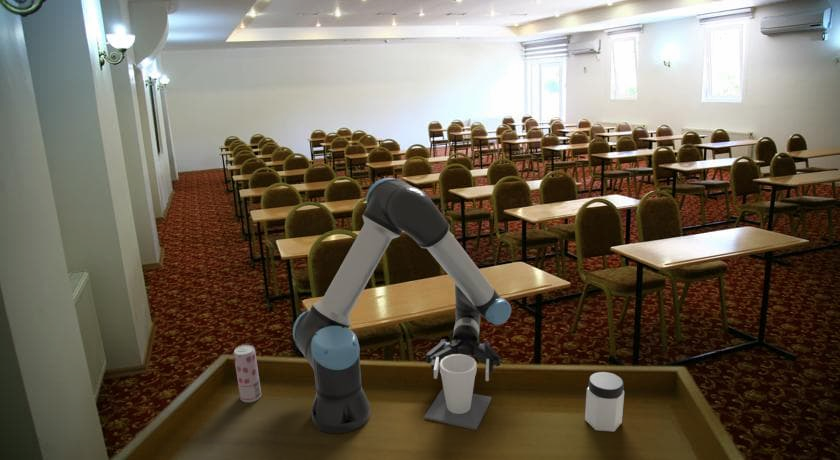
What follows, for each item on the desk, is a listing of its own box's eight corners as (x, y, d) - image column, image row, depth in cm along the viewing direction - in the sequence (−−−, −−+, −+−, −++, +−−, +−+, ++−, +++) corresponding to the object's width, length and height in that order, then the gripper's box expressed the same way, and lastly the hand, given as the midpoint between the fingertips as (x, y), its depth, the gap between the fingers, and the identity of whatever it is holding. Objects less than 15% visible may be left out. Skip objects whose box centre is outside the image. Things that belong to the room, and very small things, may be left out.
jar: (628, 427, 151) (632, 386, 147) (600, 436, 149) (603, 394, 145) (605, 407, 159) (609, 367, 155) (579, 415, 157) (581, 374, 153)
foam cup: (474, 419, 155) (474, 375, 151) (438, 416, 157) (437, 372, 153) (478, 397, 164) (477, 355, 160) (444, 394, 166) (443, 352, 162)
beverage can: (240, 393, 171) (233, 346, 166) (261, 389, 172) (255, 342, 167) (240, 404, 166) (232, 356, 161) (261, 401, 167) (254, 353, 162)
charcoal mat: (424, 418, 157) (424, 416, 157) (442, 389, 169) (442, 387, 169) (476, 430, 152) (476, 428, 152) (491, 399, 164) (491, 397, 164)
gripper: (508, 348, 179) (508, 389, 159) (424, 345, 182) (414, 385, 163) (508, 325, 177) (509, 364, 157) (423, 322, 180) (413, 360, 160)
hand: (460, 375), depth 160 cm, fingers open, 13 cm apart
